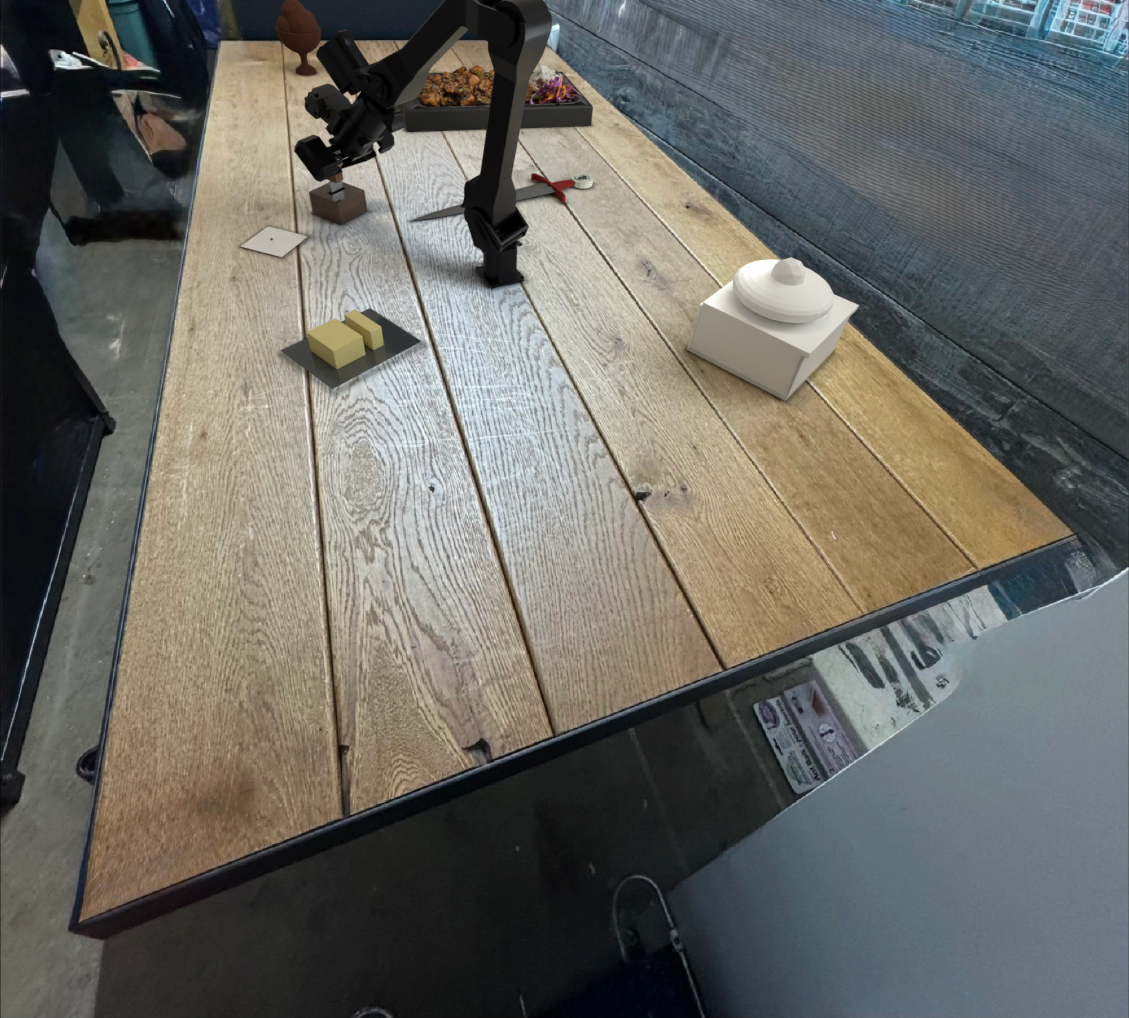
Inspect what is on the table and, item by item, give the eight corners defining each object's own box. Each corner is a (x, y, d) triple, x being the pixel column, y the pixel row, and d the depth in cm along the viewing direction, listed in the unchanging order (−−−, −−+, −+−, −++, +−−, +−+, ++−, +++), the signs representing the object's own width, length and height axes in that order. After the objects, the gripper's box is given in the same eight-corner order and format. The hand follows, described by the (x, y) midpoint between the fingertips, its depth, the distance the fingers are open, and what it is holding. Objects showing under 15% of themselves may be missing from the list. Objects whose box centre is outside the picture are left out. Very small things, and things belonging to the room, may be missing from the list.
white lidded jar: (740, 307, 112) (769, 216, 100) (836, 352, 106) (880, 261, 94) (686, 350, 103) (711, 255, 91) (788, 403, 96) (830, 308, 84)
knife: (351, 211, 123) (340, 149, 115) (340, 217, 121) (329, 154, 113) (340, 207, 124) (329, 145, 115) (330, 212, 122) (317, 150, 114)
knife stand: (367, 211, 124) (364, 189, 121) (341, 225, 120) (337, 203, 116) (339, 200, 126) (335, 178, 123) (312, 213, 121) (308, 191, 118)
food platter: (561, 90, 176) (564, 44, 168) (591, 125, 161) (596, 77, 153) (391, 93, 164) (386, 44, 156) (407, 131, 149) (402, 80, 142)
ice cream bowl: (275, 74, 166) (259, 1, 155) (299, 62, 173) (286, -9, 162) (313, 81, 165) (299, 9, 154) (335, 69, 172) (324, -1, 161)
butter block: (339, 336, 97) (335, 318, 94) (365, 354, 94) (362, 335, 92) (310, 350, 94) (305, 331, 92) (337, 369, 92) (332, 350, 89)
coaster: (308, 236, 116) (307, 232, 115) (281, 257, 111) (280, 252, 110) (268, 226, 117) (267, 222, 116) (240, 246, 112) (239, 242, 111)
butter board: (370, 312, 103) (369, 307, 102) (422, 345, 98) (421, 341, 98) (281, 354, 94) (280, 350, 93) (333, 393, 90) (332, 388, 89)
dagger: (394, 194, 129) (393, 186, 128) (583, 175, 142) (583, 167, 141) (409, 222, 122) (408, 213, 121) (606, 199, 135) (607, 191, 134)
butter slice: (358, 327, 98) (354, 309, 96) (384, 345, 96) (381, 326, 94) (347, 332, 97) (343, 314, 95) (373, 350, 95) (370, 331, 93)
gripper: (372, 58, 109) (334, 113, 120) (288, 85, 98) (255, 144, 109) (414, 122, 113) (373, 170, 124) (338, 155, 102) (301, 205, 113)
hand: (327, 171), depth 118 cm, fingers open, 5 cm apart
